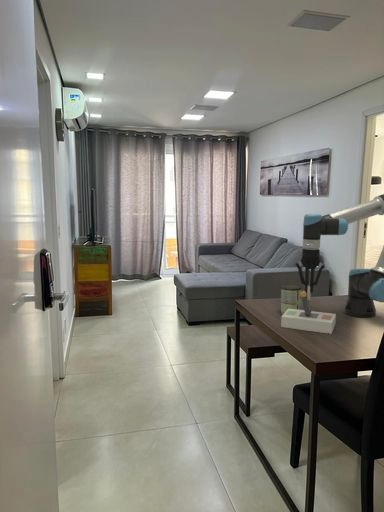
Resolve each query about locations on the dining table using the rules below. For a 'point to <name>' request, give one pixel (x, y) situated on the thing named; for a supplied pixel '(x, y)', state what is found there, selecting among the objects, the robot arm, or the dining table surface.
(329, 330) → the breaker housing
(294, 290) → the coffee can
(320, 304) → the dining table surface
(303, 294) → the breaker lever
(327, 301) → the dining table surface
